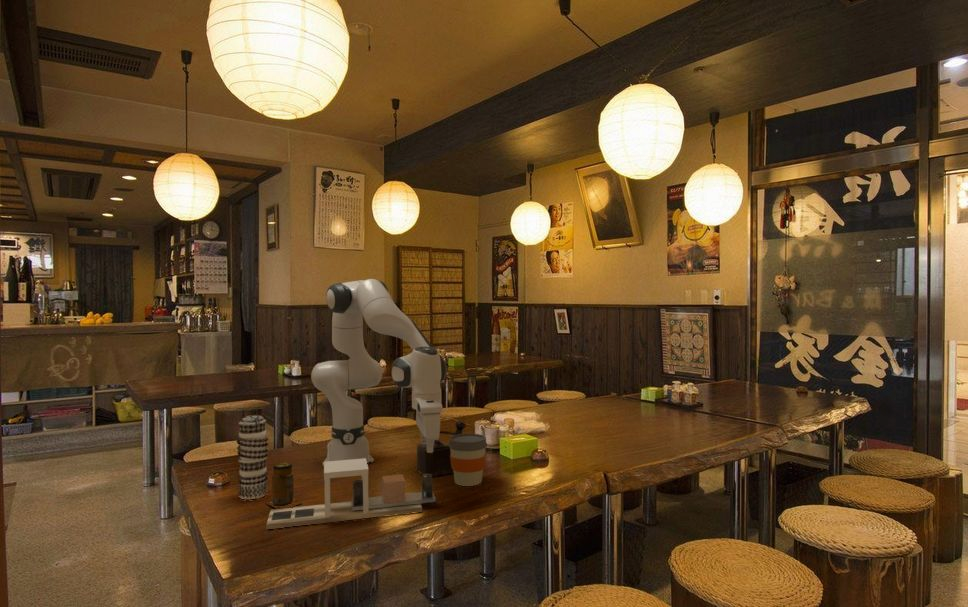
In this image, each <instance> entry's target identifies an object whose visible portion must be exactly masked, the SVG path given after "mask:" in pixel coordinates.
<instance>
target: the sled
mask: <svg viewBox="0 0 968 607" xmlns="http://www.w3.org/2000/svg"><path fill="white" fill-rule="evenodd" d="M381 481H382V482H381V487H382V488H381V493H382V494H381V495H379V496H370V497H369V496H368V508H369V509H374V508H383V507H392V506H401V505H410V504H427V503H435V502H437V498H436V496H435V494H434V488H433V486H434V485H433V481H434V480H433V477H432V474H423V475H422V474H421V491H419V492H409V493H406V480H405V478H404V474H392V475H383V476H381ZM350 500H351V504H352V511H356V510H363V480H361V479H357V480H353V481H352V499H350Z"/></svg>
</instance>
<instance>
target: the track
mask: <svg viewBox="0 0 968 607" xmlns="http://www.w3.org/2000/svg"><path fill="white" fill-rule="evenodd" d="M412 512H422V513H423V507H422V503H420V504H410V505H401V506H392V507H383V508H374V509H369V513H364V514H363V510H356V511H352V504H351V501H344V502H343V501H342V502H332V503H331V502H330V517H328V518H325V503H323V504H315V505H314V504H313V505H303V506H302V505H301V506H295V507H293V508H283V509H274V508H273V509H270V512H269V514H268V519H267V521H266V528H265V530H266V531H268V530H267V529H274V530H276V529H275V528H283V529H285V528H284V527H291V528H293V527H292V526H300V527H302V526H301V525H309V526H311V525H310V524H316V523H325V522H335V521H344V520H351V519H361V518H369V517H376V516H385V515H395V514H404V513H412ZM344 522H345V521H344ZM335 523H336V522H335Z"/></svg>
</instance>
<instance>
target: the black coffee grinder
mask: <svg viewBox="0 0 968 607" xmlns="http://www.w3.org/2000/svg"><path fill="white" fill-rule="evenodd" d="M454 426H455V431H454V432H452V431H446V430H440V434H444V435H445V434H447V435H451V436H454V435H458V434H463V431H464V430H465V429H466V427H467V426H466V422H464V421H463V420H458V421H455V423H454ZM426 446H427V444H422V443H419V444H416V470H417V469H418V470H419V471H420V472H421V473H423V474H432V476H436V477H439V476H438V475H442V476H444V475H443V474H447V475H450V474H449V473H451V474H454V473H453V469H452V467H451V459H450V454H451V450H450V447H449V444H448V443H447V442H444V441H443V440H440V439H438V440H434V446H433V452H432V453H428V452H427V451H426ZM418 470H417V471H418ZM419 471H418V472H419ZM420 472H419V473H420ZM421 473H420V474H421Z"/></svg>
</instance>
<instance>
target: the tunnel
mask: <svg viewBox="0 0 968 607" xmlns="http://www.w3.org/2000/svg"><path fill="white" fill-rule="evenodd" d="M323 462H324V461H323ZM369 475H370V474H369V465H368V464H367V460H366V458H363V459H351V460H340V461H328V462H324V466H323V479H324V504H325V518H328V517H330V504H331V479H336V478H337V479H338V478H346V477H347V478H348V477H358V476H359V477H360V480H363V514H364V513H369V508H368V497H369Z"/></svg>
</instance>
